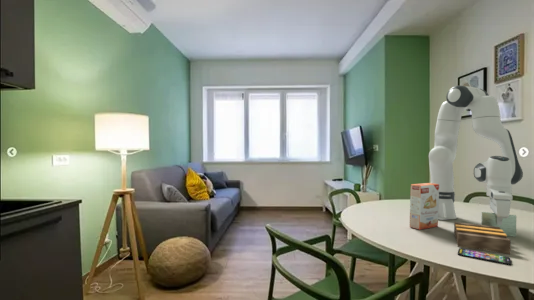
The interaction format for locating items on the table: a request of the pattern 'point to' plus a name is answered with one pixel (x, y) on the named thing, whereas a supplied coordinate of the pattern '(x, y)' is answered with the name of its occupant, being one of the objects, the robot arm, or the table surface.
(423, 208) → the cracker box
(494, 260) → the smartphone
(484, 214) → the panel
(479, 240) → the rack
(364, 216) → the table surface
